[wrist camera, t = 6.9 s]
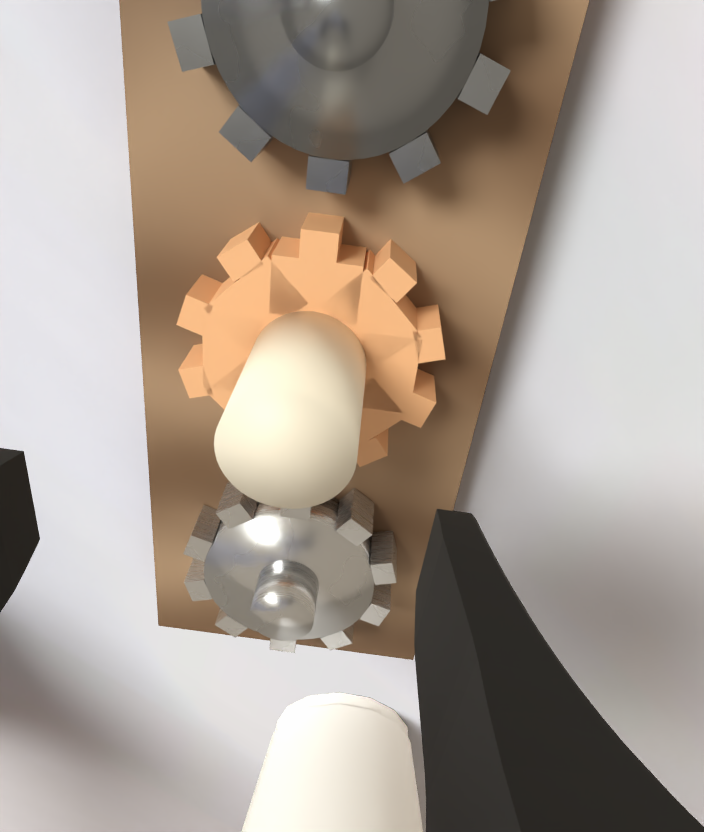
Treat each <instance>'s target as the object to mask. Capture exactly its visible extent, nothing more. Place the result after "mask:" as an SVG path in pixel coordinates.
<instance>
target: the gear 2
mask: <svg viewBox="0 0 704 832" xmlns="http://www.w3.org/2000/svg"><path fill="white" fill-rule="evenodd" d="M373 517H374V503H373V502H372V501H371V500H369V499H368V498H367V497H366V496H364V495H363V494H362V493H360V492H359V491H358V490H357V489H355V488H353V489H352V490H351V491H349V492H348V493H347V494H346V495H344V496H343V497H342V498H341V499H340V500H338V499H336V498H334V497H333V498H332V499H330V500H328V501H326V502H324V503H322V504H319V505H316V506H312V507H308V508H300V509H287V508H278V507H273V506H269V505H266V504H263V503H260V502H258V501H256V500H254V499H252V498H250V497H248V496H246V495H245V494H243V493H242V492H240V491H239V490H238V489H237V488H236V487H234V486H233V485H232V484H231V482H229V483H227V484H226V487H225V490H224V492H223V495H222V498H221V500H220V503H219V506H218V508H217V510H216V509H213V508H211V507H208V506H206V505H203V508H202V510H201V512H200V514H199V517H198V519H197V521H196V523H195V526H194V528H193V531H192V533H191V536H190V538H189V541H188V543H187V546H186V548H185V550H184V553H183V554H184V555H187V556H190V557H192V558H193V560H192V563H191V565H190V568H189V570H188V573H187V576H186V578H185V581H184V584H185V586H186V588H187V590H188V592H189V595H190V597H191V599H192V601H200V600H211V599H212V598H213V600H214V601H215V603H216V604H217V605H218V606H219V607H220V610H219V613H218V616H217V619H216V623H215V625H216V626H217V627H219V628H221V629H222V630H224V631H225V632H227V633H229V634H230V635H232V636H233V637H237V636H238V635H239V634H241V633H242V632H243V631H245V630H246V629H247V628H249V629H251V630H253V631H256V632H259V633H260V634H262V635H264V636H266V637H268V638H270V650H276V651H283V652H291V653H295V647H296V642H297V640H304V639H315V638H320V639H321V640H322V641H323V642H324V644H325V645H326V646H327V647H328V648H329V650H333V649H336V648H340V647H343V646H346V645H349V644H352V643H353V630H354V623H355V622H356V621H357V620H358V619H359V618H360V620H363V621H365V622H368V623H371V624H374V625H376V626H379V625H380V624H381V622H382V621H383V620H384V618H385V617H386V616H387V614H388V613H389V612H390V605H391V583H397V549H396V544H395V539H394V535H393V531H383V532H373Z"/></svg>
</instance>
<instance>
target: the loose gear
mask: <svg viewBox="0 0 704 832" xmlns="http://www.w3.org/2000/svg"><path fill="white" fill-rule="evenodd" d="M343 224H344V217H342V216H335V215H327V214H319V213H311V212H309V213H308V215H307V217H306V219H305V221H304V223H303V225H302V227H301V232H300V239H298V238H290V237H283V236H282V237H281V239H280V240H279V238H276V239H275V240H274V241H273V242H272V241H271V240H270V238H269V237H268V235H267V234H266V232H265V230H264V229H263V227H262V226H261V224H260V222H258V223H257V224H255V225H253V226H252V227H250V228H248V229H246V230H245V231H243V232H241V233H240V234H238V235H236V236H235V237H233V238H231V239H230V240H229V242H228V243H227V244H226V246H225V247H224V248H223V250H222V251H221V252H220V253H219V255H218V256H217V259H218V260H219V262H220V263H221V265H222V266H223V267H224V269H225V270H226V272H227V273H228V275H229V276H230V277H229V278H228V279H227V280H226V281H225V282H223V283H221V282H219V281H217V280H214V279H212V278H210V277H208V276H205V275H203V274H202V275H201V276H200V277H199V279H198V280H197V281H196V283H195V284H194V285H193V286H192V288H191V289H190V290H189V292H188V293H187V294H186V296H185V300H184V303H183V306H182V309H181V312H180V315H179V318H178V321H177V324H176V325H178V326H180V327H183V328H185V329H187V330H190V331H192V332H194V333H197V334H199V335H202V344H198V345H193V347H192V349H191V350H190V352H189V353H188V355H187V357H186V358H185V360H184V361H183V363H182V364H181V366H180V368H179V369H178V371H179V373H180V376H181V378H182V381H183V383H184V386H185V389H186V391H187V394H188V396H189V398H196V397H202V396H209V395H210V396H211V397H212V398H213V399H214V400H215V401H216V402H217V403H218V404H219V405H220V406H221V407H222V408H223V409H224V412H223V415H222V417H221V419H220V421H219V424H218V426H217V428H216V432H215V436H214V450H215V455H216V459H217V462H218V464H219V467H220V469H221V470H222V472H223V474H224V475H225V476H226V478H227V479H228V480H229V481H230V482H231V484H232V485H233V486H234V487H236V488H237V489H238V490H239V491H240V492H242V493H243V494H245V495H246V496H248V497H250V498H252V499H254V500H256V501H258V502H260V503H263V504H266V505H269V506H273V507H278V508H287V509H300V508H308V507H312V506H316V505H319V504H322V503H324V502H326V501H328V500H330V499H332V498H333V497H335V496H336V495H338V494H339V493H340V492H341V491H342V490H343V489H344V488H345V487H346V486H347V484H348V483H349V482H350V480H351V478H352V477H353V474H354V472H355V469H356V464H358V465H359V467H362V466H364V465H367V464H369V463H371V462H374V461H376V460H378V459H381V458H383V457H386V456H388V430H389V427H391V426H393V425H394V424H396V423H397V422H399V421H401V420H403V421H405V422H408V423H410V424H412V425H415V426H417V427H420V428H421V427H422V425H423V424H424V422H425V420H426V419H427V417H428V416H429V414H430V412H431V411H432V409H433V407H434V406H435V404H436V392H435V381H434V376H433V375H431V374H429V373H426V372H424V371H422V370H419V369H417V367H418V363H424V362H431V361H437V360H444V359H445V351H444V343H443V335H442V328H441V321H440V315H439V308H438V304H437V305H431V306H425V307H419V308H416V307H415V306H414V304H413V303H412V302H411V301H410V299H409V298H408V297H407V295H406V293H407V292H408V291H409V290H410V289H411V288H412V287H413V286H414V285H415V284H416V283H417V273H416V262H415V261H414V260H413V259H412V258H411V257H410V256H409V255H407V254H406V253H405V252H404V251H403V250H402V249H401V248H400V247H399V246H398V245H397V244H396V243H395V242H394V241H393V240H392V239H390V240H389V241H388V242H387V243H386V245H385V246H384V247H383V248H382V249H381V250H380V251H379V252H378V253H377V254H376V255H374V253H373V252H372V251H371V250H369V251H367V252H366V247H361V246H353V245H345V244H341V243H342V234H343Z"/></svg>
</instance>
